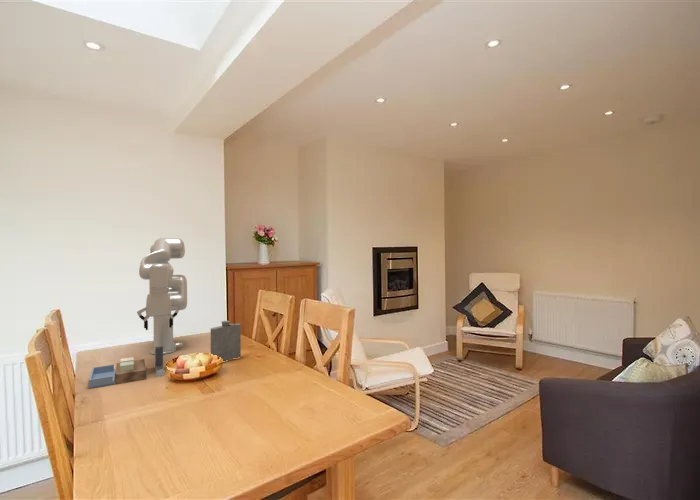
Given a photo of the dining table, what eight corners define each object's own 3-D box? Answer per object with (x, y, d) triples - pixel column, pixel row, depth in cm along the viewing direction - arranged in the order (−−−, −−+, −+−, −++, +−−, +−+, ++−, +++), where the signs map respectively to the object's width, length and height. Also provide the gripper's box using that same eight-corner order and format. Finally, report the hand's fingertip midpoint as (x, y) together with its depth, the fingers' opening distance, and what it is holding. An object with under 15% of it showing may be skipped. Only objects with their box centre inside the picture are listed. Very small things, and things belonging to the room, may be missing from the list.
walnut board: (144, 367, 170) (144, 359, 170) (146, 379, 155) (146, 369, 155) (116, 371, 164) (116, 363, 164) (115, 384, 149) (115, 374, 149)
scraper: (161, 366, 173) (161, 343, 173) (164, 375, 159) (164, 351, 159) (154, 367, 171) (154, 344, 171) (156, 377, 158) (156, 352, 158)
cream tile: (133, 362, 165) (133, 356, 165) (133, 365, 161) (133, 359, 161) (120, 364, 162) (120, 358, 162) (120, 367, 158) (120, 361, 158)
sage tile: (133, 366, 159) (133, 360, 159) (133, 369, 155) (133, 364, 155) (120, 368, 156) (120, 362, 156) (120, 371, 152) (120, 366, 152)
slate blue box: (115, 371, 164) (115, 364, 164) (114, 384, 149) (114, 376, 149) (92, 375, 159) (92, 367, 159) (89, 388, 144) (88, 380, 144)
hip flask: (212, 365, 173) (212, 324, 173) (208, 363, 175) (208, 323, 175) (241, 358, 185) (241, 319, 185) (237, 356, 187) (237, 318, 187)
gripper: (178, 289, 173) (178, 325, 172) (136, 291, 164) (136, 329, 163) (180, 290, 166) (180, 327, 166) (137, 292, 157) (137, 332, 157)
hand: (158, 328), depth 165 cm, fingers open, 9 cm apart
